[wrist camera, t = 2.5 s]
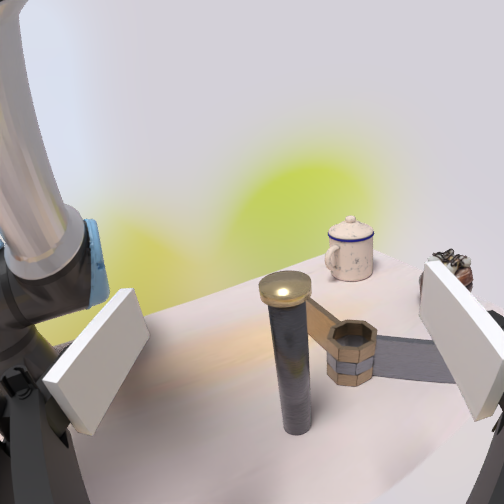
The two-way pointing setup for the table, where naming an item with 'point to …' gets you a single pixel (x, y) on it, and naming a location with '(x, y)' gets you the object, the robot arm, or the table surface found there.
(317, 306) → the tan flat knuckled part
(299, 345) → the hinge pin
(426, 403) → the table surface
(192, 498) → the table surface
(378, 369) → the hinge leaf
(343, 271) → the teacup with lid
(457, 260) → the cupcake
